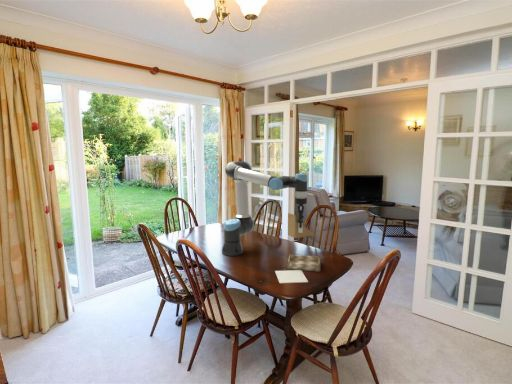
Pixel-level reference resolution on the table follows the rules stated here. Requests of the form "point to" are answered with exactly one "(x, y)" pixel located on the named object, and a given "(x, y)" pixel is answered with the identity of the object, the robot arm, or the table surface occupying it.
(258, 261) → the table surface
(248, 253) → the table surface
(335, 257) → the table surface
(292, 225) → the sandwich container
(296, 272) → the linen napkin
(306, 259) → the crate
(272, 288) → the table surface
